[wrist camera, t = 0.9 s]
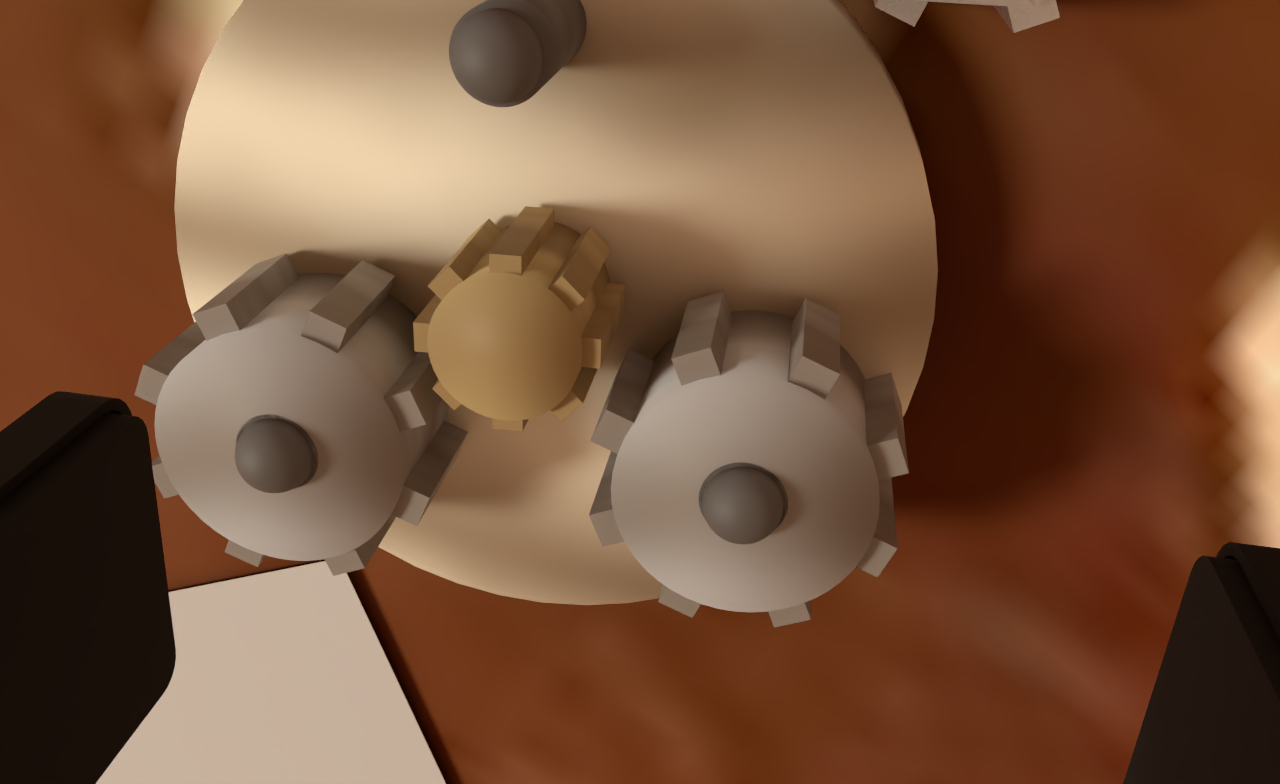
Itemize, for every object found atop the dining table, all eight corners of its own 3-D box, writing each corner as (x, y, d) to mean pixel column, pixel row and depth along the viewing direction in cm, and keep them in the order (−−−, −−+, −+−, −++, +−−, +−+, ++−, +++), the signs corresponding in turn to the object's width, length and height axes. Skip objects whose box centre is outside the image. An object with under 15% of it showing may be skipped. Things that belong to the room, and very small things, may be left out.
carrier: (166, -156, 29) (-20, -144, 23) (988, -117, 27) (1036, -92, 20) (250, 528, 37) (131, 675, 31) (882, 599, 35) (892, 772, 29)
